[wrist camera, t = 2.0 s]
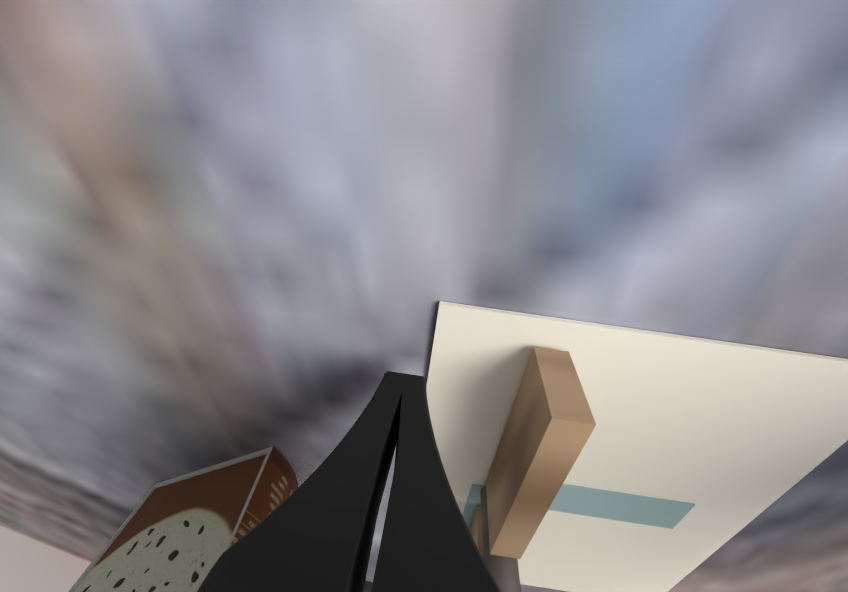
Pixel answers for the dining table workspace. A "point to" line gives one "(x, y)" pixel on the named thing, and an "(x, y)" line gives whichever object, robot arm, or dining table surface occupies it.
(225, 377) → the dining table surface
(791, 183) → the dining table surface
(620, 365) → the card
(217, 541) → the food container
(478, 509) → the fixed rail
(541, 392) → the hinged rail
